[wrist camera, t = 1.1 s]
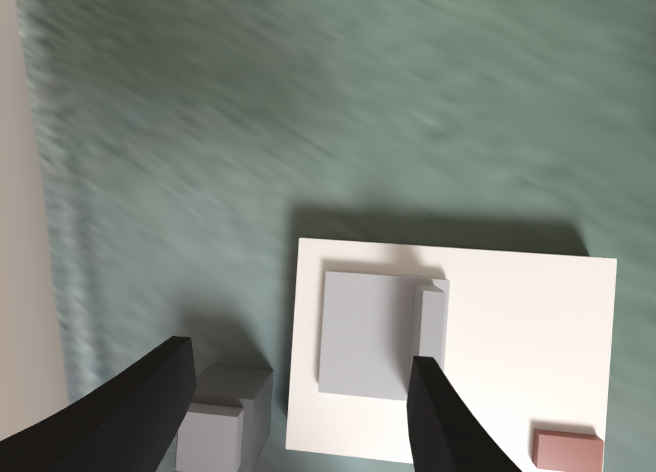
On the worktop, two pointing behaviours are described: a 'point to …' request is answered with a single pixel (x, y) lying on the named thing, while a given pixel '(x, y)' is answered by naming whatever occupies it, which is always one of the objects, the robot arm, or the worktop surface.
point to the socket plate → (472, 352)
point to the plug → (225, 420)
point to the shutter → (379, 331)
